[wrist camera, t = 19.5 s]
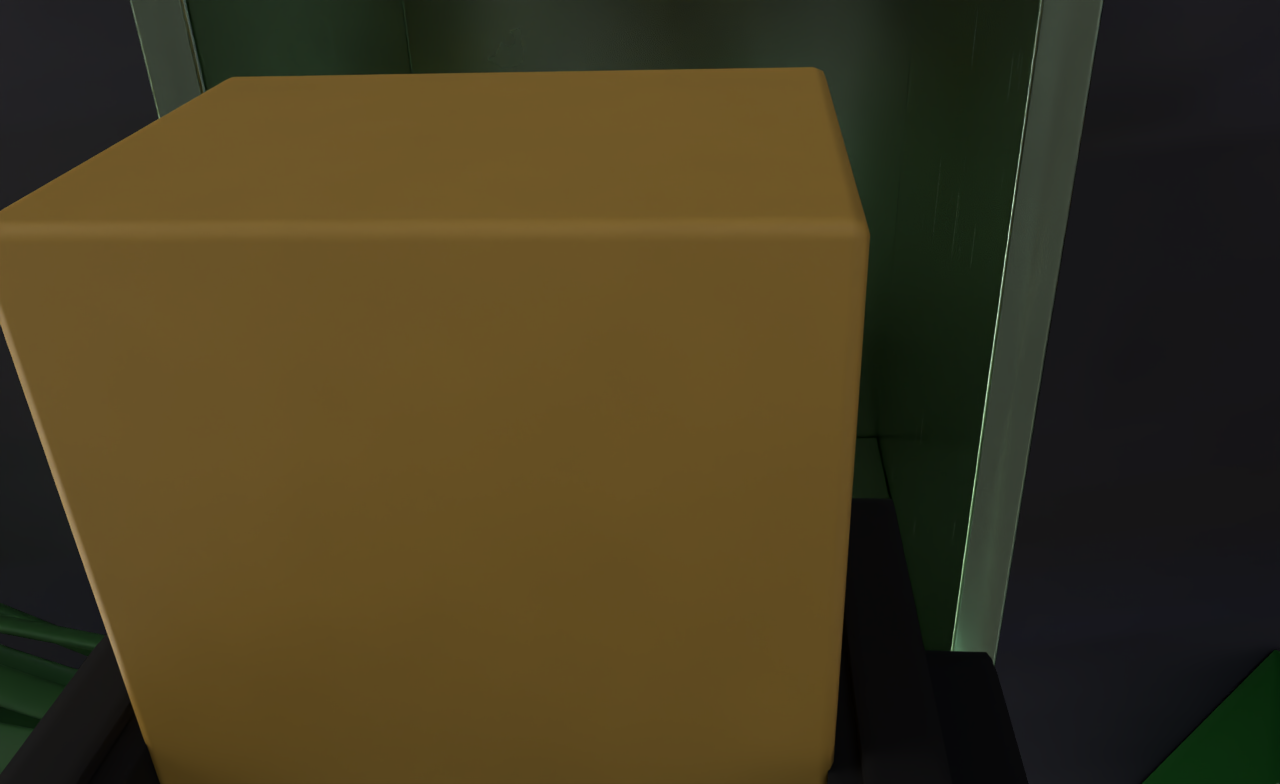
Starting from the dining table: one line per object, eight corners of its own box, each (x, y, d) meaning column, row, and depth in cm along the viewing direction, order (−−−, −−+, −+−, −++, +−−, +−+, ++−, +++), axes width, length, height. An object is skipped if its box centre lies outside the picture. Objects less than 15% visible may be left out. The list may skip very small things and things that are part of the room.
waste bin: (349, -199, 23) (82, -180, 14) (967, -221, 22) (1140, -217, 13) (439, 440, 31) (307, 736, 21) (902, 447, 30) (980, 761, 20)
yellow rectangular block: (224, 75, 8) (-44, 225, 5) (825, 62, 8) (874, 221, 5) (407, 937, 13) (316, 1254, 10) (785, 958, 13) (797, 1292, 10)
